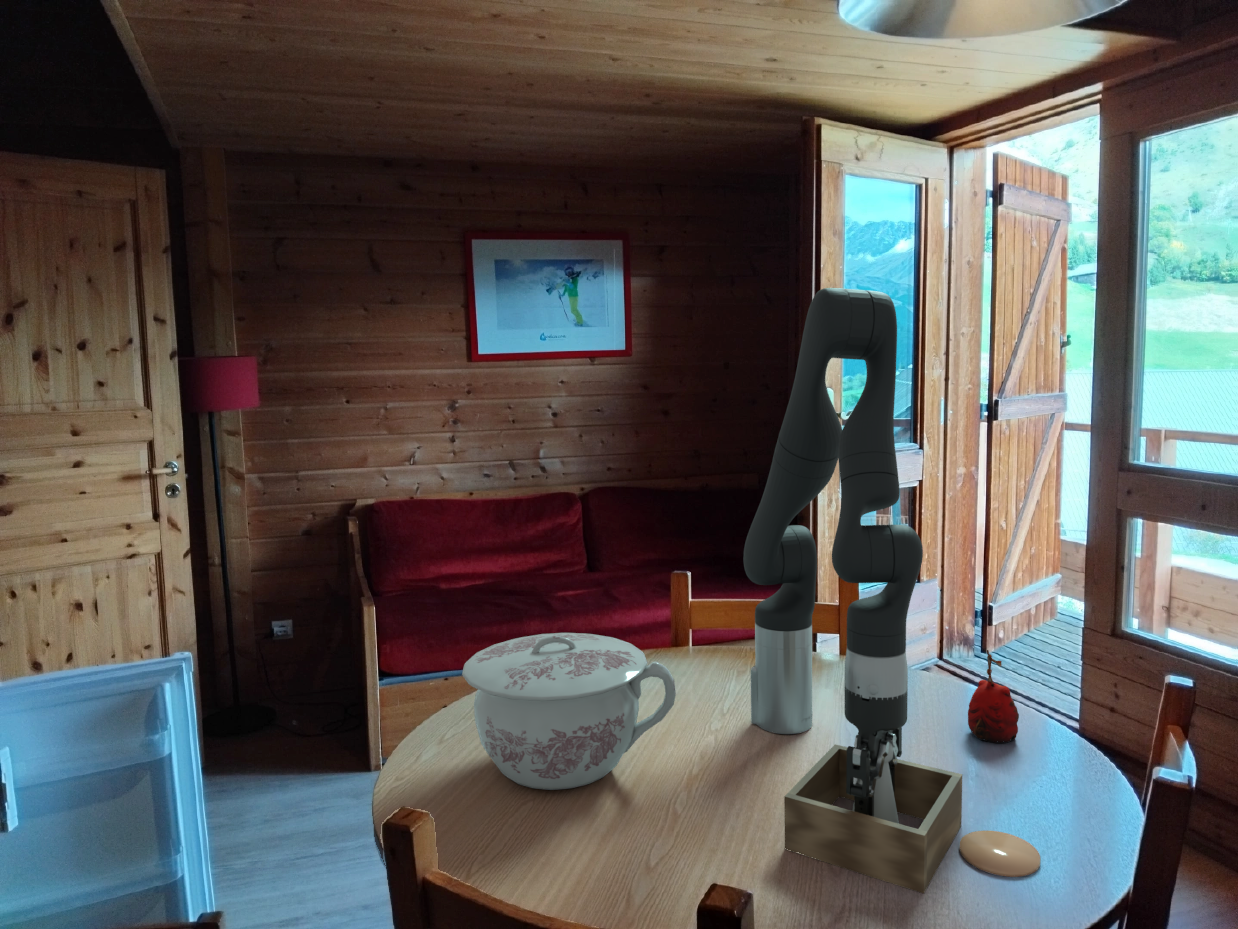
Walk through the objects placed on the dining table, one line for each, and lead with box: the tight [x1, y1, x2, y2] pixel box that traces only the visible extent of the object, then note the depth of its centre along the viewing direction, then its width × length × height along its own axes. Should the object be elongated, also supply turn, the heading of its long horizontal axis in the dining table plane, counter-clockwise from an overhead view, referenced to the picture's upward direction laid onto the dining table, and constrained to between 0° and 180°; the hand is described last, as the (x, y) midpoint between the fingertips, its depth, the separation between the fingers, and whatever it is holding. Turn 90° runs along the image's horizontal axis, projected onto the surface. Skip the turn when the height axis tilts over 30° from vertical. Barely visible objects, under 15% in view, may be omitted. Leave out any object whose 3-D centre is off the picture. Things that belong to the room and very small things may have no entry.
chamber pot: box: [461, 632, 677, 791], centre depth 131 cm, size 28×28×21 cm
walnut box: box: [783, 743, 963, 894], centre depth 111 cm, size 17×17×7 cm
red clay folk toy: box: [967, 649, 1020, 744], centre depth 138 cm, size 8×7×15 cm
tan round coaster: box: [959, 830, 1041, 878], centre depth 107 cm, size 9×9×1 cm
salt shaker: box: [851, 742, 900, 824], centre depth 111 cm, size 6×6×13 cm
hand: (874, 807), depth 111 cm, fingers open, 7 cm apart
